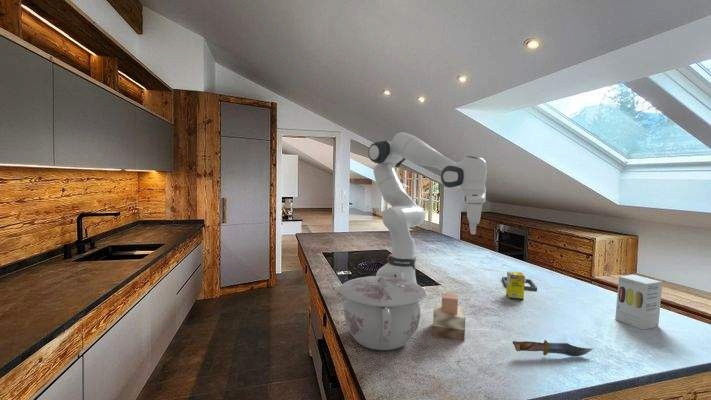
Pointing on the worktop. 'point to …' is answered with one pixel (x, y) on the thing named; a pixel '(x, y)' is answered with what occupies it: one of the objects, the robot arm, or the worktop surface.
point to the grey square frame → (524, 286)
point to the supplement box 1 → (515, 285)
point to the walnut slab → (448, 333)
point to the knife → (551, 348)
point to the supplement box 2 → (638, 301)
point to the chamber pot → (382, 310)
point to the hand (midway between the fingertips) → (472, 232)
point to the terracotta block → (449, 303)
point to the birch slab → (449, 318)
